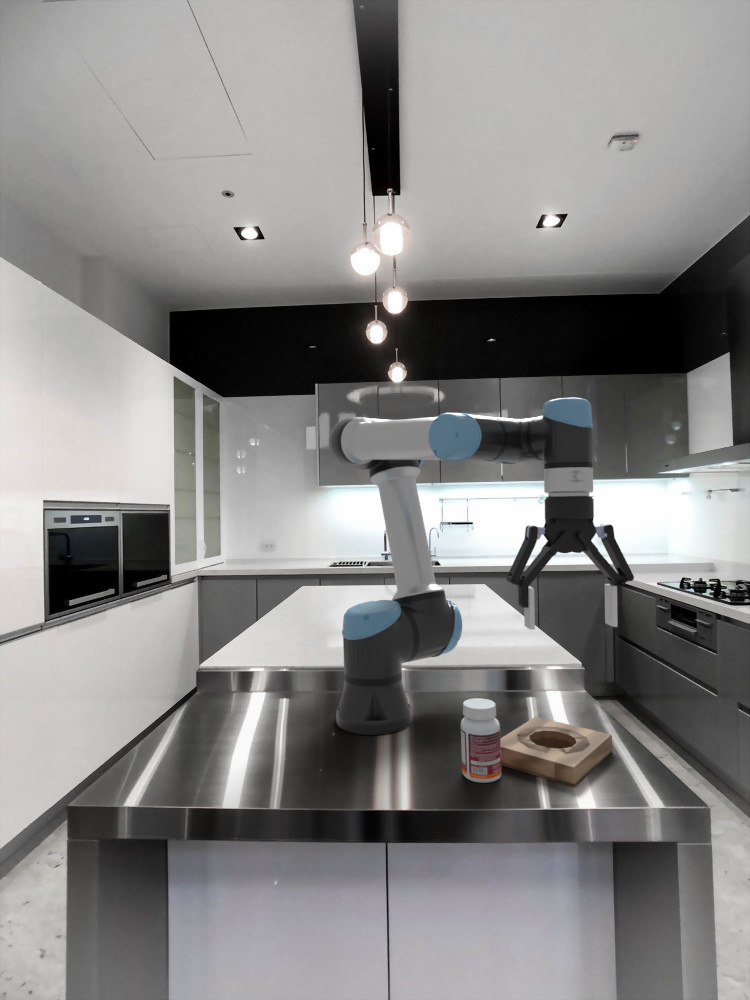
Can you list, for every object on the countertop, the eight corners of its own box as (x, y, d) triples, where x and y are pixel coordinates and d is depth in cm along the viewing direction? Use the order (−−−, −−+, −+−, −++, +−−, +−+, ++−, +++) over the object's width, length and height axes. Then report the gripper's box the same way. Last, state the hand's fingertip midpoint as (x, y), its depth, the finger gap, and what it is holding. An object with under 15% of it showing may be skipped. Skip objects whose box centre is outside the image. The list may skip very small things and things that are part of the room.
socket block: (492, 762, 96) (491, 744, 96) (535, 732, 108) (535, 716, 108) (574, 787, 86) (573, 767, 86) (612, 752, 98) (611, 734, 98)
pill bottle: (509, 776, 90) (507, 704, 91) (481, 788, 87) (479, 712, 87) (482, 763, 95) (480, 694, 96) (453, 773, 92) (452, 702, 92)
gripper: (499, 495, 88) (501, 633, 88) (655, 493, 90) (657, 629, 90) (486, 496, 96) (488, 623, 96) (630, 494, 98) (632, 619, 98)
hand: (570, 626), depth 93 cm, fingers open, 13 cm apart
